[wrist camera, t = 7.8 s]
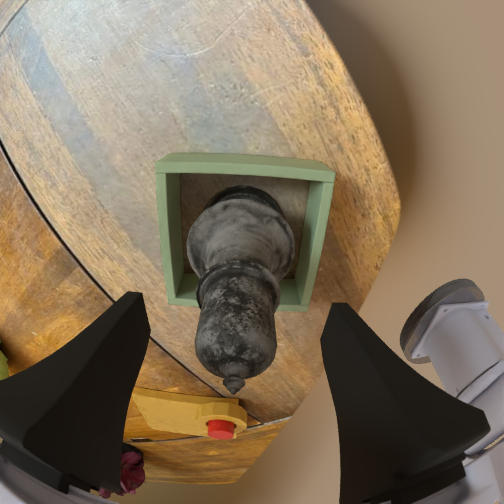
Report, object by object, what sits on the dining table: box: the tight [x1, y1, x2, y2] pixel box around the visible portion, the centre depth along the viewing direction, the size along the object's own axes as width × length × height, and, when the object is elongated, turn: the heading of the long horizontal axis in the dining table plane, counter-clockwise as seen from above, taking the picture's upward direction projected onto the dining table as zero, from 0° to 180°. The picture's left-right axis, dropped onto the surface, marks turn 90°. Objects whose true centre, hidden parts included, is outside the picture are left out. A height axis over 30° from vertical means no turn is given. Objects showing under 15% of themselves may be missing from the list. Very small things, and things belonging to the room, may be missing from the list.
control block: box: [131, 387, 247, 438], centre depth 29 cm, size 14×12×3 cm
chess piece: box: [186, 186, 296, 395], centre depth 12 cm, size 6×6×12 cm
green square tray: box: [155, 153, 336, 312], centre depth 16 cm, size 9×9×3 cm
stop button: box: [207, 419, 234, 439], centre depth 26 cm, size 3×3×2 cm
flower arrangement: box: [98, 443, 145, 499], centre depth 36 cm, size 31×20×15 cm, turn 87°
